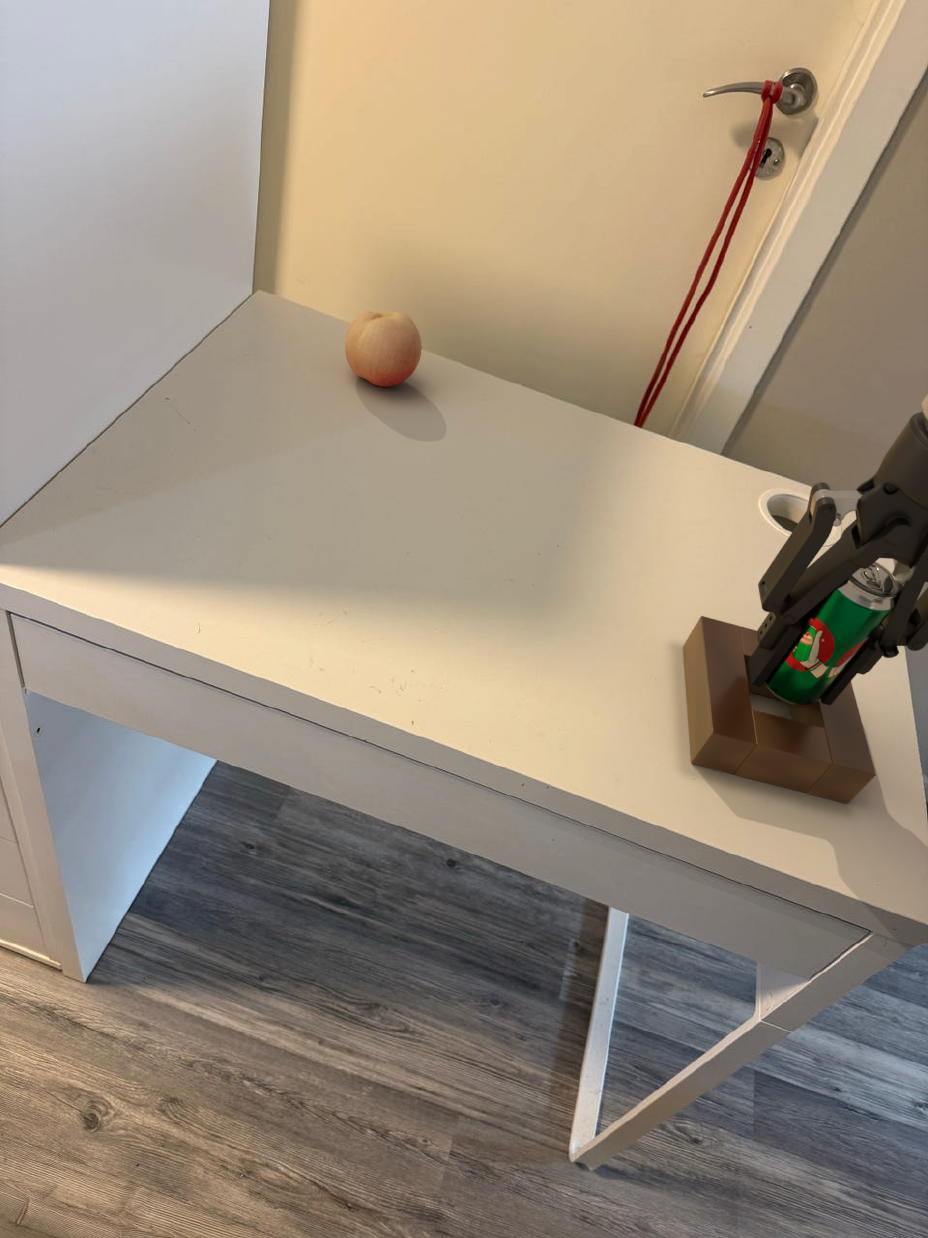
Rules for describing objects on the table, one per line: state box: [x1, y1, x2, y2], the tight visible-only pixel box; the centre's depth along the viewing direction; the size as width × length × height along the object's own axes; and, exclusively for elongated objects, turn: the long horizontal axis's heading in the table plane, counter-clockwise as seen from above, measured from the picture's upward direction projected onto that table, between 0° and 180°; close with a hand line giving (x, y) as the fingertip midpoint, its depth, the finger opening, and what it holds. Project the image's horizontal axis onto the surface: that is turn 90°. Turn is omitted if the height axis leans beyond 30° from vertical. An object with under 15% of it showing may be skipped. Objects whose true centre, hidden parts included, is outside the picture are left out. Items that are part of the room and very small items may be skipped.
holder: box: [682, 615, 877, 804], centre depth 69 cm, size 13×13×4 cm
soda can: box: [764, 561, 900, 705], centre depth 63 cm, size 5×5×12 cm
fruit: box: [344, 311, 423, 388], centre depth 93 cm, size 8×8×8 cm
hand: (789, 682), depth 67 cm, fingers closed on soda can, 5 cm apart
